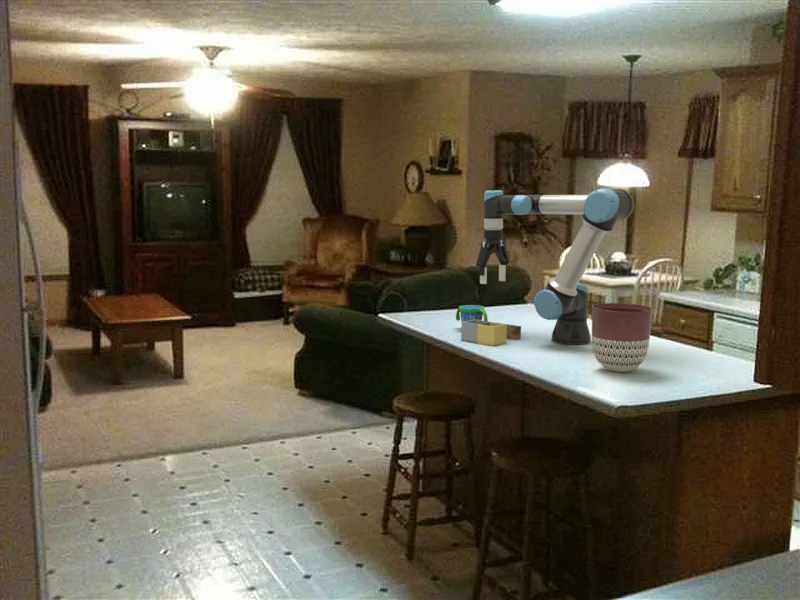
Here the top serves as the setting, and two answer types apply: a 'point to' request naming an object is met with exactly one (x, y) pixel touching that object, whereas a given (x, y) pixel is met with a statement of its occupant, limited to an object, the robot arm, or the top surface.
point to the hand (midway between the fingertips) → (492, 282)
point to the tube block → (484, 332)
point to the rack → (513, 332)
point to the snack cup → (471, 313)
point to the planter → (620, 335)
